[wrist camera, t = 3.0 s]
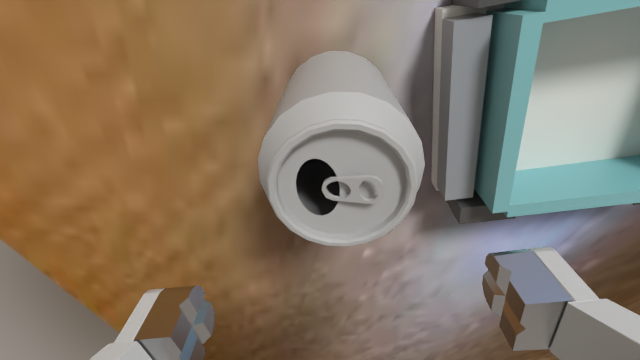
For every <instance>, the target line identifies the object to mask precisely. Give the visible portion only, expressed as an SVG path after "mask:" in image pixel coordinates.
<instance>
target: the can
mask: <svg viewBox="0 0 640 360" xmlns="http://www.w3.org/2000/svg"><path fill="white" fill-rule="evenodd" d="M258 165H259V176H260V183H261V185H262V187H263V189H264V191H265V193H266V196H267V198H268V200H269V202H270V204H271V206H272V208H273V210H274V212H275V214H276V216H277V217H278V218H279V220H280V221H281V222H282V223H283V224H284V225H285V226H286V227H287V228H288V229H289V230H290V231H292V232H294V233H295V234H297V235H299V236H301V237H302V238H304V239H306V240H308V241H311V242H315V243H319V244H322V245H326V246H345V247H349V246H354V245H359V244H364V243H369V242H371V241H373V240H375V239H377V238H379V237H382V236H384V235H386V234H388V233H389V232H390V231H391V230H393V229H394V228H395V227H396V226H397V225H399V224H400V223H401V222H402V221H403V220H404V219H405V217H406V216H407V214H408V212H409V211H410V209H411V208H412V206H413V205H414V202H415V198H416V194H417V191H418V189H419V188H420V184H421V180H422V176H423V172H424V167H425V161H424V154H423V147H422V141H421V139H420V138H419V136H418V134H417V132H416V131H415V129H414V127H413V125H412V123H411V122H410V120H409V118H408V117H407V115H406V113H405V112H404V110H403V109H402V107H401V105H400V104H399V102H398V101H397V99H396V97H395V96H394V94H393V93H392V91H391V89H390V88H389V86H388V84H387V83H386V81H385V80H384V78H383V76H382V75H381V73H380V72H379V70H378V69H377V68H376V67H375V66H374V65H373V64H371V63H370V62H369V61H368V60H367V59H366V58H364V57H362V56H359V55H356V54H354V53H351V52H349V51H328V52H325V53H322V54H319V55H315V56H313V57H311V58H310V59H309V60H307V61H306V62H304V63H303V64H302V65H300V66H299V67H298V68H297V70H296V71H295V73H294V74H293V76H292V77H291V79H290V80H289V82H288V84H287V86H286V88H285V91H284V93H283V95H282V98H281V100H280V102H279V104H278V107H277V109H276V111H275V114H274V116H273V118H272V120H271V123H270V125H269V127H268V129H267V132H266V134H265V136H264V140H263V143H262V147H261V151H260V154H259V158H258Z"/></svg>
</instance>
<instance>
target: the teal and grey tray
mask: <svg viewBox="0 0 640 360" xmlns="http://www.w3.org/2000/svg"><path fill="white" fill-rule="evenodd" d="M431 182H432V183H433V185H434V187H435V189H436V191H440V193H441V195H442V196H443V198H444V200H445V201H447V203H448V204H449V206H450V208H451V210H452V212H453V213H454V215H455V217H456V219H457V221H458V222H459V224H466V223H475V222H484V221H493V220H502V219H510V218H515V216H524V215H533V214H542V213H551V212H560V211H569V210H578V209H587V208H595V207H604V206H613V205H622V204H633V205H636V204H640V0H452V5H448V6H443V7H438V8H435V36H434V82H433V128H432V174H431Z"/></svg>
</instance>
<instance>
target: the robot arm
mask: <svg viewBox="0 0 640 360" xmlns="http://www.w3.org/2000/svg"><path fill="white" fill-rule="evenodd" d="M485 265H486V266H487V268H488V271H487V272H486V273H485V274H484V275H483V283H482V285H483V291H484V295H485V298H486V301H487V303H488V305H489V307H490V309H491V311H493V312H494V313H496V314H497V315H499V316H500V317H501V321H500V328H501V330H502V332H503V334H504V335H505V337H506V339H507V341H508V343H509V345H510V347H511V349H512V350H513V351H520V350H540V349H550V350H549V351H550V352H551V353H552V354H554V355H555V356H556V357H557V358H558V359H560V360H640V315H638V314H636V313H634V312H632V311H630V310H628V309H626V308H624V307H622V306H620V305H618V304H616V303H614V302H612V301H610V300H608V299H599V298H598V297H597V295H596V294H595V293H594V292H593V291H592V290H591V289H590V288H589V287H588V286H587V285H586V283H585V282H584V281H583V280H582V279H581V278H580V277H579V276H578V275H577V274H576V272H575V271H574V270H573V269H572V268H571V267H570V266H569V265H568V264H567V263H566V261H565V260H564V259H563V258H562V257H561V256H560V255H559V254H558V253H557V252H556V250H555V249H553V248H551V247H543V248H534V249H528V250H527V249H523V250H515V251H506V252H498V253H490V254H488V255H487V257H486V261H485ZM204 295H205V292H204V291H203V289H202V288H201V286H186V287H174V288H164V289H153V290H148V291H147V292H146V293H144V295H143V296H142V298H141V299H140V301H139V303H138V304H137V306H136V308H135V309H134V311H133V313H132V314H131V316H130V318H129V319H128V321H127V322H126V324H125V326H124V327H123V329H122V331H121V332H120V334H119V336H118V338H117V339H116V340H115V342H114V343H111V344H108V345H107V346H105V347H104V348H103V349H102V350H101V351H99V352H98V353H97V354H96V355H94V356H93V357H92V358H91V359H90V360H203V358H204V355H205V352H206V350H205V347H204V343H205V342H206V340H207V339H208V338H209V337H210V336H211V334H212V331H213V328H214V320H215V314H214V310H213V307H212V305H211V303H210V302H208V301H206V300H205V299H203V297H204Z"/></svg>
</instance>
